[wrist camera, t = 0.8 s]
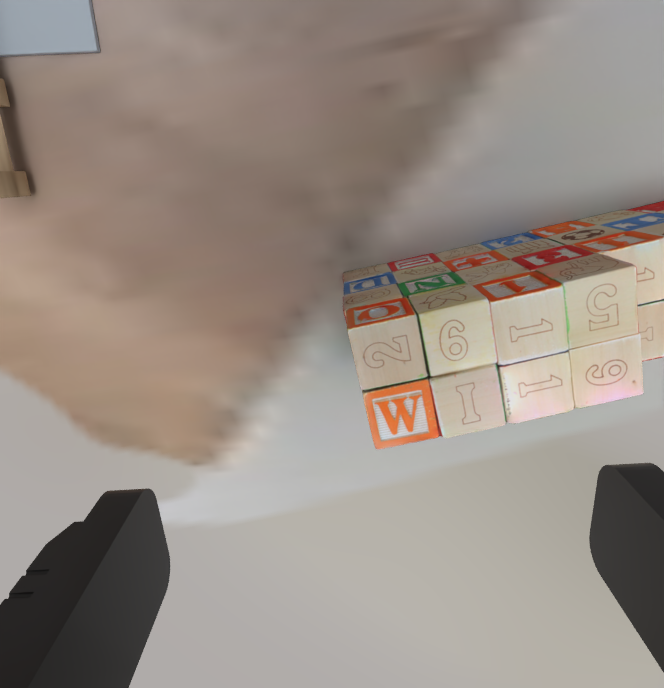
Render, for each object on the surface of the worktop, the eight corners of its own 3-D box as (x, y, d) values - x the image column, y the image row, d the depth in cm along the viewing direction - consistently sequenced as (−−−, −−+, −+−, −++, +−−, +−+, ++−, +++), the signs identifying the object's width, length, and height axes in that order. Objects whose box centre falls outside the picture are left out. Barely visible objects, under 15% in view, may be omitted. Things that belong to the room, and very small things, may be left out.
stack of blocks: (671, 194, 30) (880, 209, 19) (672, 290, 32) (860, 355, 21) (340, 272, 32) (344, 329, 20) (359, 358, 34) (374, 454, 23)
